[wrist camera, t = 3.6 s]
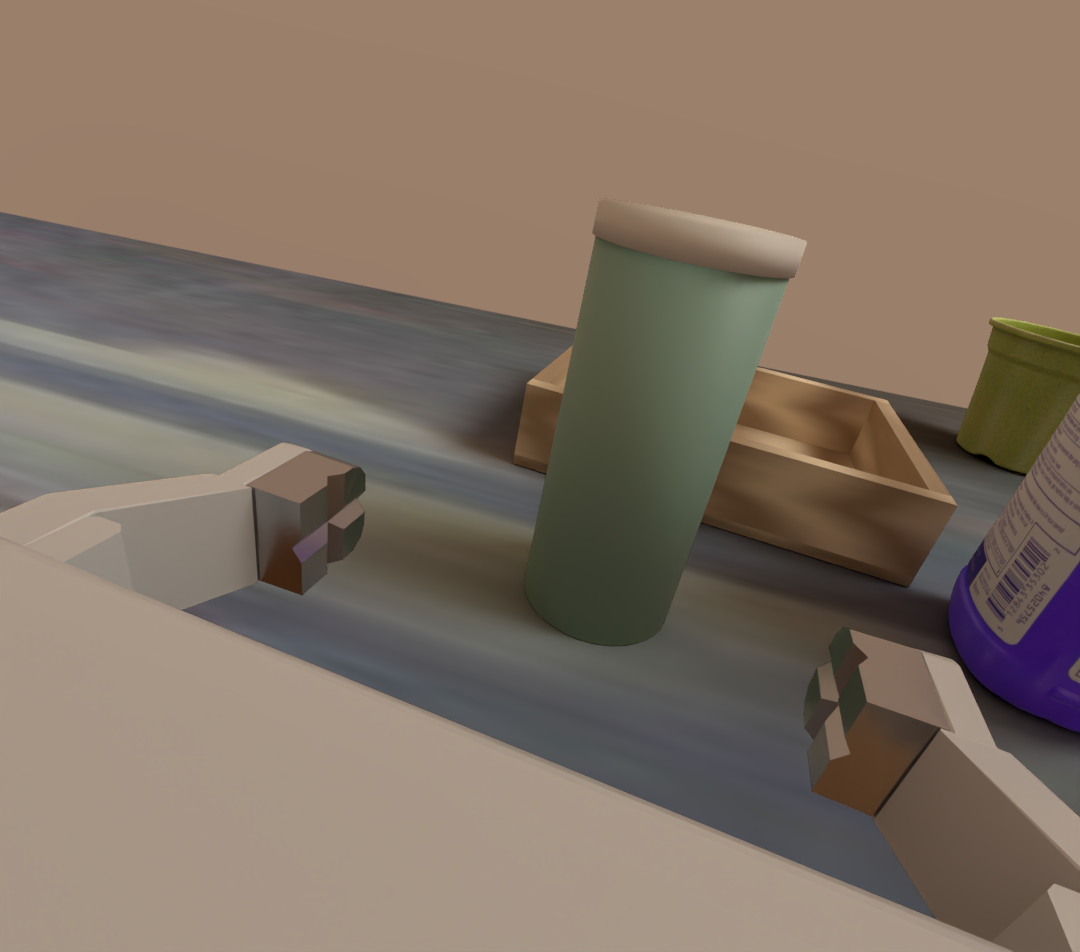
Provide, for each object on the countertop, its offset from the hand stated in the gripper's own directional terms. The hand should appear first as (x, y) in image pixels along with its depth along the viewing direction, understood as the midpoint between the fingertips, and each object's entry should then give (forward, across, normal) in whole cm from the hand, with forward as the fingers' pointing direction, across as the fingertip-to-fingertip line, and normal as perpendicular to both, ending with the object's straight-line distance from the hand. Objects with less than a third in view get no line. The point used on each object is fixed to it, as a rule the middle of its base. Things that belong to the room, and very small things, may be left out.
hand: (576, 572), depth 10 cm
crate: (+23, -3, +7) cm, 24 cm away
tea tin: (+9, 0, +7) cm, 11 cm away
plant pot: (+38, -23, +7) cm, 45 cm away
